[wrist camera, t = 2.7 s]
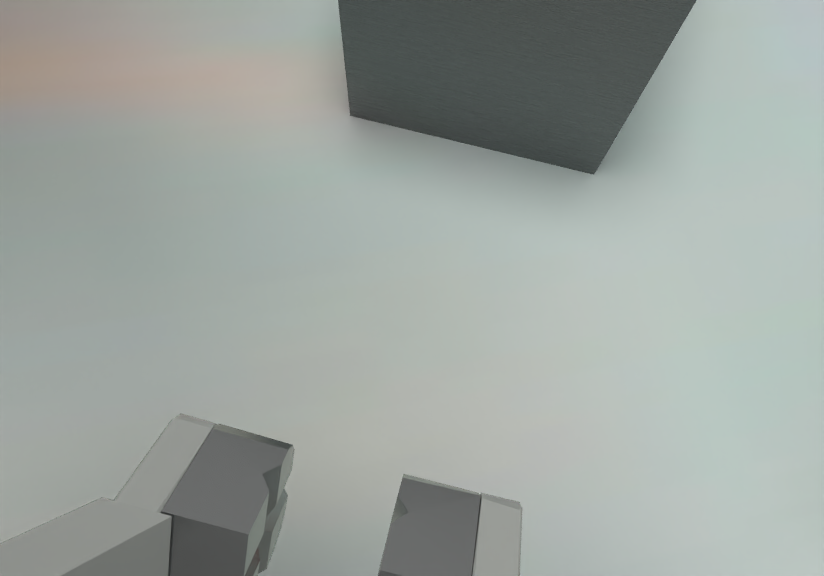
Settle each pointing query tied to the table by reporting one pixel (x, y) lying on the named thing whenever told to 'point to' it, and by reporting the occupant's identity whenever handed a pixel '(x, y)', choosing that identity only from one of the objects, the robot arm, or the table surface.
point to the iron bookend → (507, 69)
